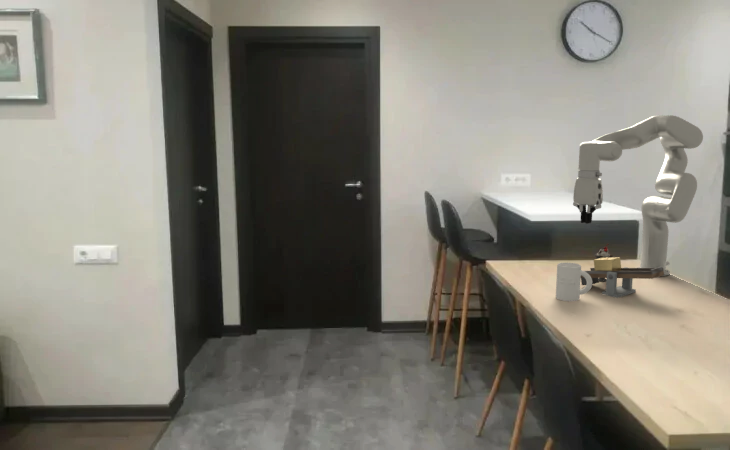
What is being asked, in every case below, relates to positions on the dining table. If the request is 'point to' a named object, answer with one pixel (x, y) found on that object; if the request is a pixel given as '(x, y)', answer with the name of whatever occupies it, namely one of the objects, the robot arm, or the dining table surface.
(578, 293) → the mug
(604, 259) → the block
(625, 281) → the pivot stand
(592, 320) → the dining table surface
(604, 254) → the sundae
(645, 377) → the dining table surface
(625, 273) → the beam
